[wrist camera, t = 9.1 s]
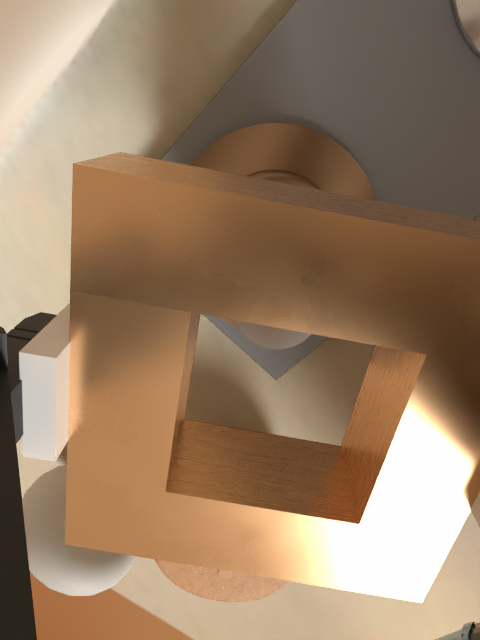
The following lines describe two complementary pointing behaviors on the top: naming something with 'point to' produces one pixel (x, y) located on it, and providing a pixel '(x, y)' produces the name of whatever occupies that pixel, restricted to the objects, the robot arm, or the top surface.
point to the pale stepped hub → (468, 22)
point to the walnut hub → (290, 168)
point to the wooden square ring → (286, 313)
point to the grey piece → (49, 543)
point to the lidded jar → (219, 582)
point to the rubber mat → (361, 108)
